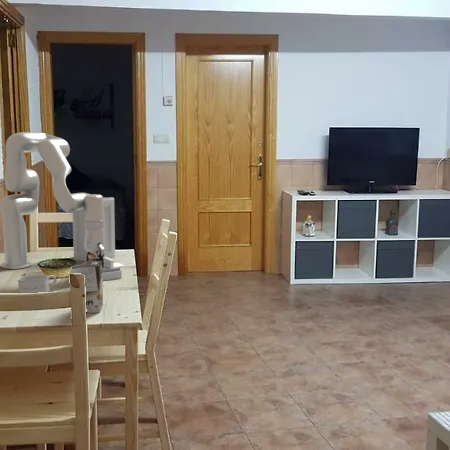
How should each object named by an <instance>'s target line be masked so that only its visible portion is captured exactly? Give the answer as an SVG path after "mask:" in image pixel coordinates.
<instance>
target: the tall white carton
mask: <svg viewBox="0 0 450 450" xmlns="http://www.w3.org/2000/svg"><path fill="white" fill-rule="evenodd" d="M103 216H104V228H103V238H104V249H105V251H104V257H108V258H110V259H114V258H116V239H115V238H116V233H115V230H116V229H115V198H114V197H103ZM72 236H73V238H72V239H73V241H72V242H73V243H72V244H73V259H74V260H79V261H83V262H84V261H87V254H86V250H85V248H84V243H85V210H84V211H78V212H73V213H72ZM94 254H95V253H94Z"/></svg>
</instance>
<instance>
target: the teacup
mask: <svg viewBox="0 0 450 450" xmlns="http://www.w3.org/2000/svg"><path fill="white" fill-rule="evenodd" d="M51 278H53V281H52V283H51V284H49V282H50V280H51ZM57 280H58V279H57V277H56V276H55V275H54V274H50V275H47V274H27V275H24V276H19V277H18V278H17V282H18V284H17V285H18V287H17V288H18V293H19V294H20V293H38V292H48V293H49V291H50V290H51V289H52V288H53V287H54V286H55V285H56V283H57Z"/></svg>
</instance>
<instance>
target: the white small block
mask: <svg viewBox="0 0 450 450" xmlns="http://www.w3.org/2000/svg"><path fill="white" fill-rule="evenodd" d="M104 266H105V267H107V268H110V269H113V268H120V269H122V268H126V266H125V265H124V264H122V263H119V262H114V259H113V258H111V259H110V258H108V257H104Z"/></svg>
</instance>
